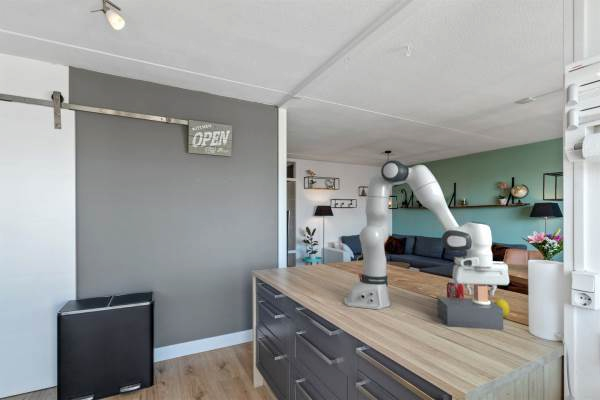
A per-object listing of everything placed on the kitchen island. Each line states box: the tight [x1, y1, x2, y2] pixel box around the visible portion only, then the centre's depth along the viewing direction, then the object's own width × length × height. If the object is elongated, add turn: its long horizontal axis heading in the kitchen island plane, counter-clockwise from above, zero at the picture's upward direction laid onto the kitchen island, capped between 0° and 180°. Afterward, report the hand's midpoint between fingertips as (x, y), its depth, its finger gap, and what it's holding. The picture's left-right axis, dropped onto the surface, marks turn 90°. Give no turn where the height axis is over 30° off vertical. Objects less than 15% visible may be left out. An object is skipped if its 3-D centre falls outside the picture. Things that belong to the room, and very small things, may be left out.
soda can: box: [446, 279, 465, 298], centre depth 133 cm, size 7×7×12 cm
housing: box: [436, 296, 504, 331], centre depth 115 cm, size 20×12×8 cm, turn 81°
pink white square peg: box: [472, 284, 491, 306], centre depth 114 cm, size 6×6×12 cm
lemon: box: [493, 298, 511, 319], centre depth 119 cm, size 6×6×8 cm
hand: (480, 295), depth 114 cm, fingers open, 6 cm apart
